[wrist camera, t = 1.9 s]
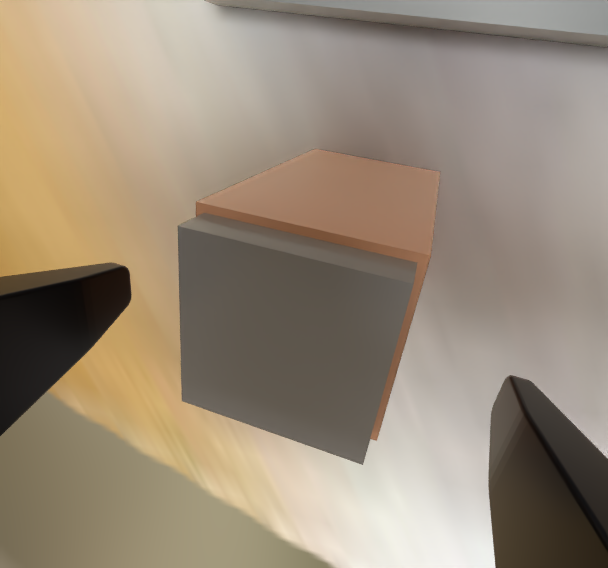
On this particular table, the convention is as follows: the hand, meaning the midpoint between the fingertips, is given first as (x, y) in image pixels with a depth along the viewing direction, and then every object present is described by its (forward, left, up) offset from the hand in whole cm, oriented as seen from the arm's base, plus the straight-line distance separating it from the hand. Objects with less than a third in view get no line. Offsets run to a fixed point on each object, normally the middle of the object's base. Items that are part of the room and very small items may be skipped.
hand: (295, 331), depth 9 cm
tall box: (0, 0, -9) cm, 9 cm away
